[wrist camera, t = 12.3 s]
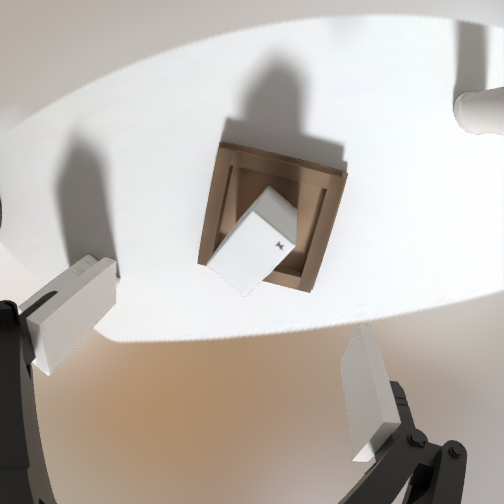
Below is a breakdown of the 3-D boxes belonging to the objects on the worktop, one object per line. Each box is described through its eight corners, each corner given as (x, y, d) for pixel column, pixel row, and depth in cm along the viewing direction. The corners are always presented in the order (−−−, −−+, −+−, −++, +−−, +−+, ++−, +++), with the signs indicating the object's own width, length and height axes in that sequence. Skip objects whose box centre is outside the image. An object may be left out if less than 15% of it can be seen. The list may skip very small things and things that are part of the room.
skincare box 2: (268, 183, 33) (254, 206, 22) (298, 209, 34) (299, 245, 23) (233, 224, 35) (203, 265, 24) (262, 248, 36) (245, 300, 25)
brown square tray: (200, 256, 38) (192, 266, 36) (221, 141, 33) (215, 142, 30) (312, 285, 38) (313, 297, 35) (346, 172, 33) (351, 175, 30)
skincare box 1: (89, 251, 41) (16, 302, 26) (124, 280, 41) (58, 342, 27) (74, 290, 44) (10, 344, 29) (105, 316, 44) (47, 379, 30)
